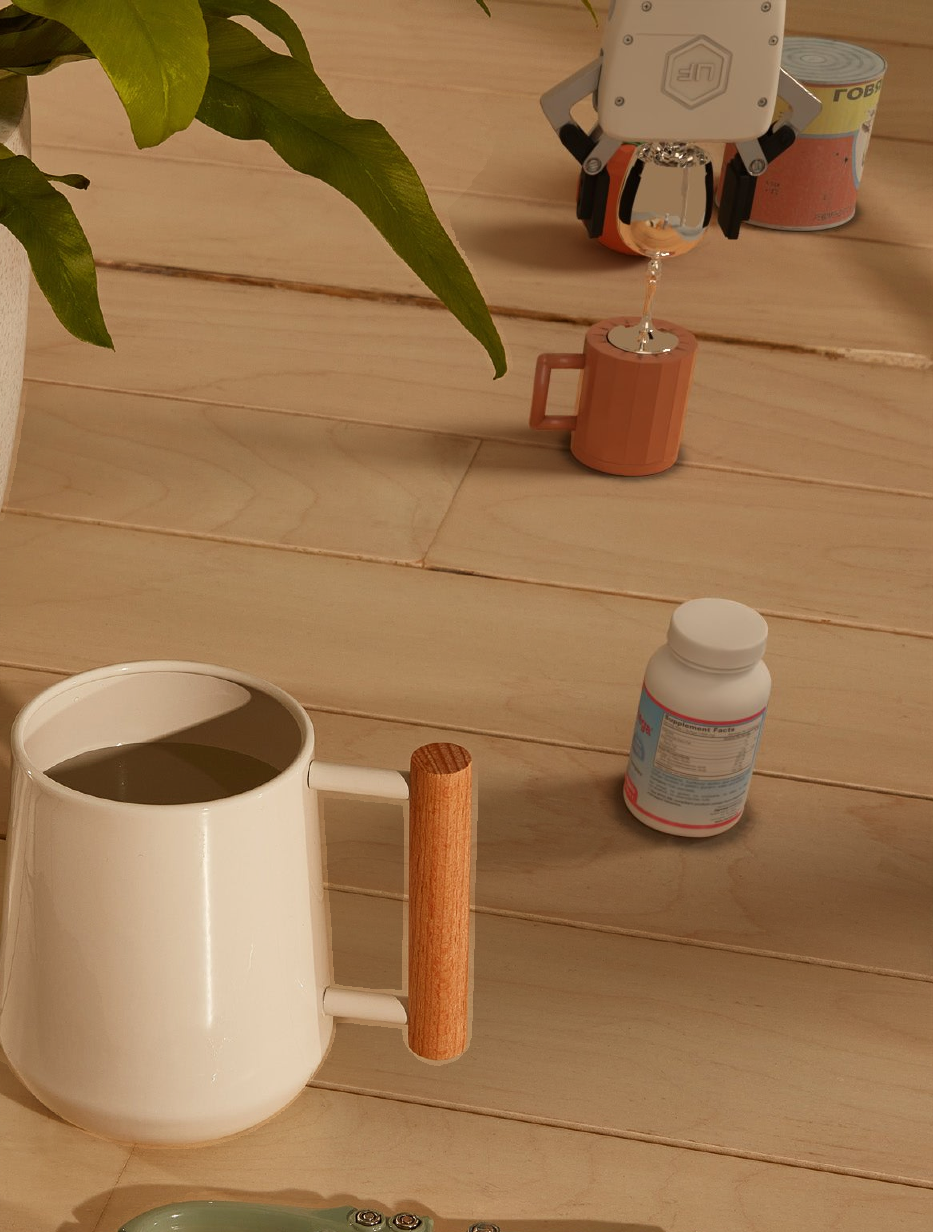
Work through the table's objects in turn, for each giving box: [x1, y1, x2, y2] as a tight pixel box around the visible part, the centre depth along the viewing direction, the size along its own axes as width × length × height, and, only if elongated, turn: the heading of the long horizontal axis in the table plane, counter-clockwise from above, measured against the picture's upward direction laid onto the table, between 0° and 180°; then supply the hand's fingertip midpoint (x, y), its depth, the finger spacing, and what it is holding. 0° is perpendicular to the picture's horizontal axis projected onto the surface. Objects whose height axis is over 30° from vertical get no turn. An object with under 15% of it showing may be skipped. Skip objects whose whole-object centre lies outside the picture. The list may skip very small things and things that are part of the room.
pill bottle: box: [622, 597, 772, 838], centre depth 102 cm, size 6×6×11 cm
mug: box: [528, 315, 699, 477], centre depth 134 cm, size 10×7×8 cm
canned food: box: [714, 36, 888, 232], centre depth 166 cm, size 11×11×12 cm
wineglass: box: [608, 142, 715, 354], centre depth 127 cm, size 6×6×12 cm
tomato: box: [575, 141, 649, 256], centre depth 159 cm, size 10×10×10 cm
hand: (659, 229), depth 127 cm, fingers open, 7 cm apart
